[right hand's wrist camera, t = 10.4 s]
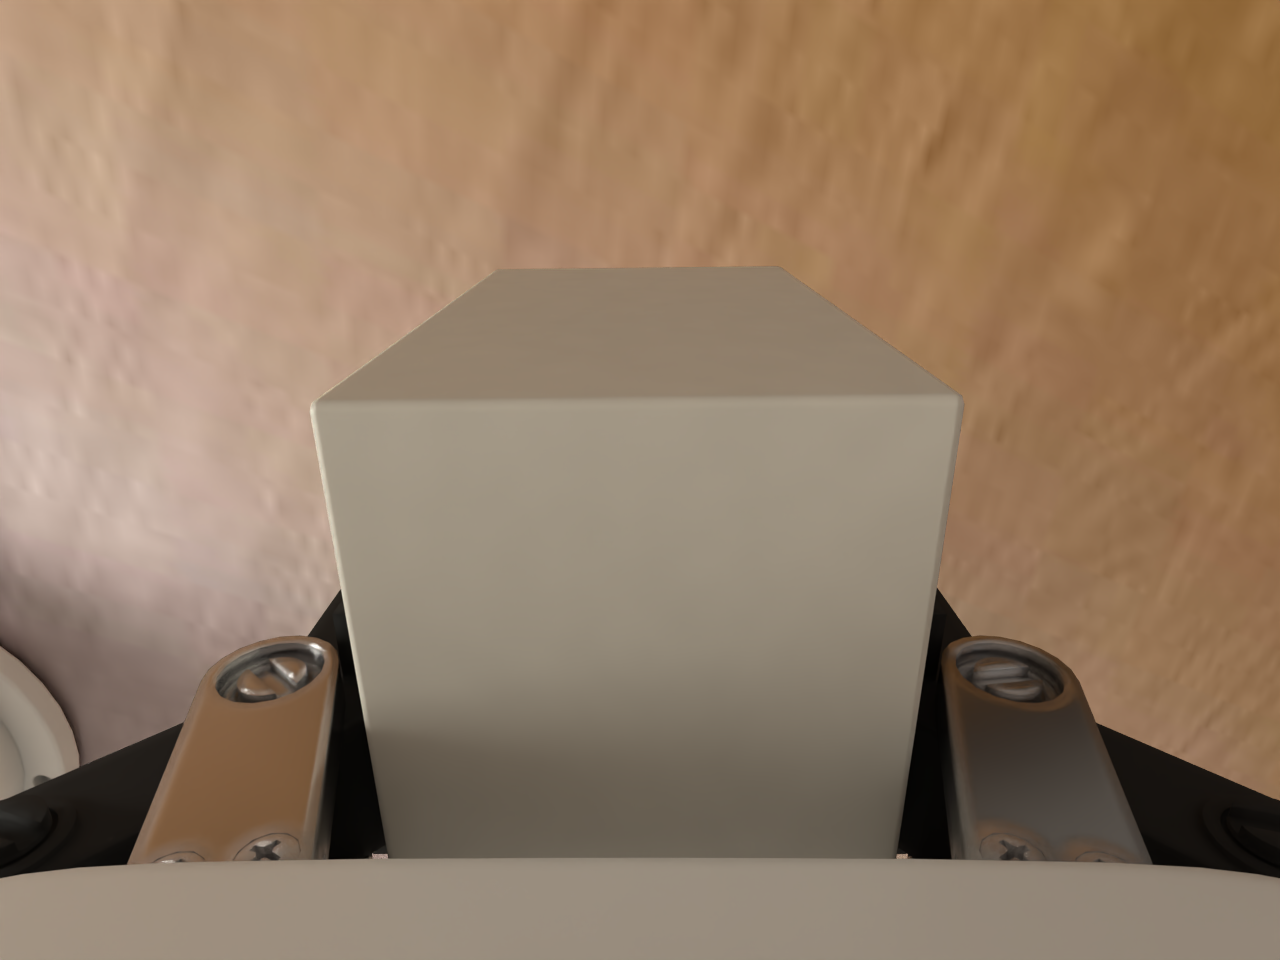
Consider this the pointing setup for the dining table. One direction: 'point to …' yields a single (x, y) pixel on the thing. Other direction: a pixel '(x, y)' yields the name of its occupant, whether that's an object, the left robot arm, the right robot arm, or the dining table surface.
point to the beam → (639, 567)
